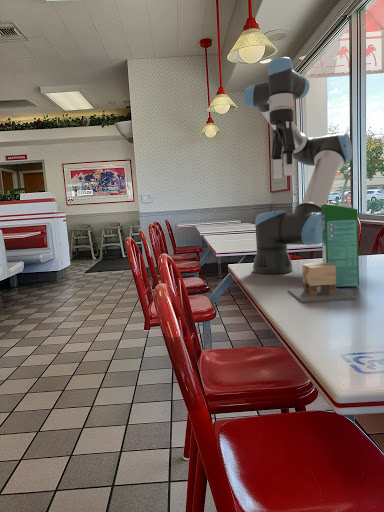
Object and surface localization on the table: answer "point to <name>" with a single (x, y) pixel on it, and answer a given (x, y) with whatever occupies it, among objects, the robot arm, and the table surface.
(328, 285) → the footstool
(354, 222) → the milk carton
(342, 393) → the table surface
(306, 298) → the mat
